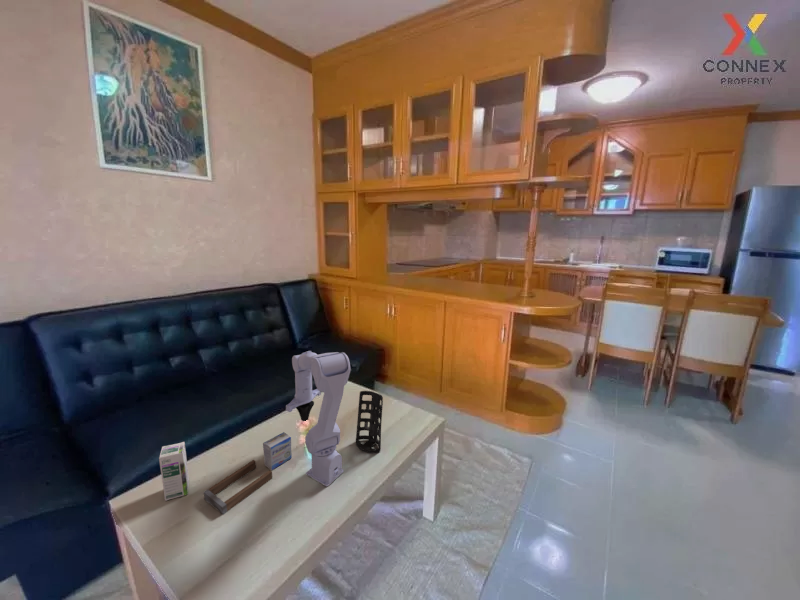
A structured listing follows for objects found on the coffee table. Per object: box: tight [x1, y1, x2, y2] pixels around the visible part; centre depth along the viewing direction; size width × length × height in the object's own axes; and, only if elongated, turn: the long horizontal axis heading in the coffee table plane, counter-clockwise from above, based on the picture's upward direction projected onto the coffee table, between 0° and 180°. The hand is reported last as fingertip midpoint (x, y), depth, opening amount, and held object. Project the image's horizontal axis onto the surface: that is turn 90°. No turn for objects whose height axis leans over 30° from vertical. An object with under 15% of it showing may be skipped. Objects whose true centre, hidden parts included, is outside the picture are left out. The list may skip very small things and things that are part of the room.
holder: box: [355, 390, 384, 454], centre depth 121 cm, size 11×8×20 cm
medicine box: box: [262, 431, 293, 471], centre depth 112 cm, size 8×4×9 cm, turn 143°
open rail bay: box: [203, 459, 273, 515], centre depth 100 cm, size 9×16×2 cm, turn 148°
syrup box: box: [158, 441, 190, 502], centre depth 97 cm, size 6×6×14 cm
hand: (304, 420), depth 120 cm, fingers closed
